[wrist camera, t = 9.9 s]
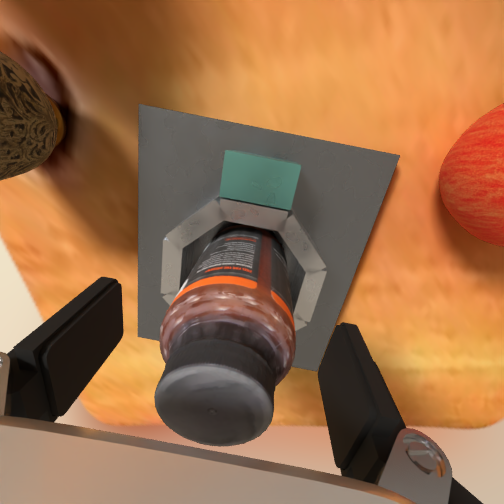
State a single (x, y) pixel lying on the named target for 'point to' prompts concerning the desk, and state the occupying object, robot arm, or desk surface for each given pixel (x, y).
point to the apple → (477, 178)
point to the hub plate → (254, 211)
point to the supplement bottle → (227, 340)
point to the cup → (25, 121)
